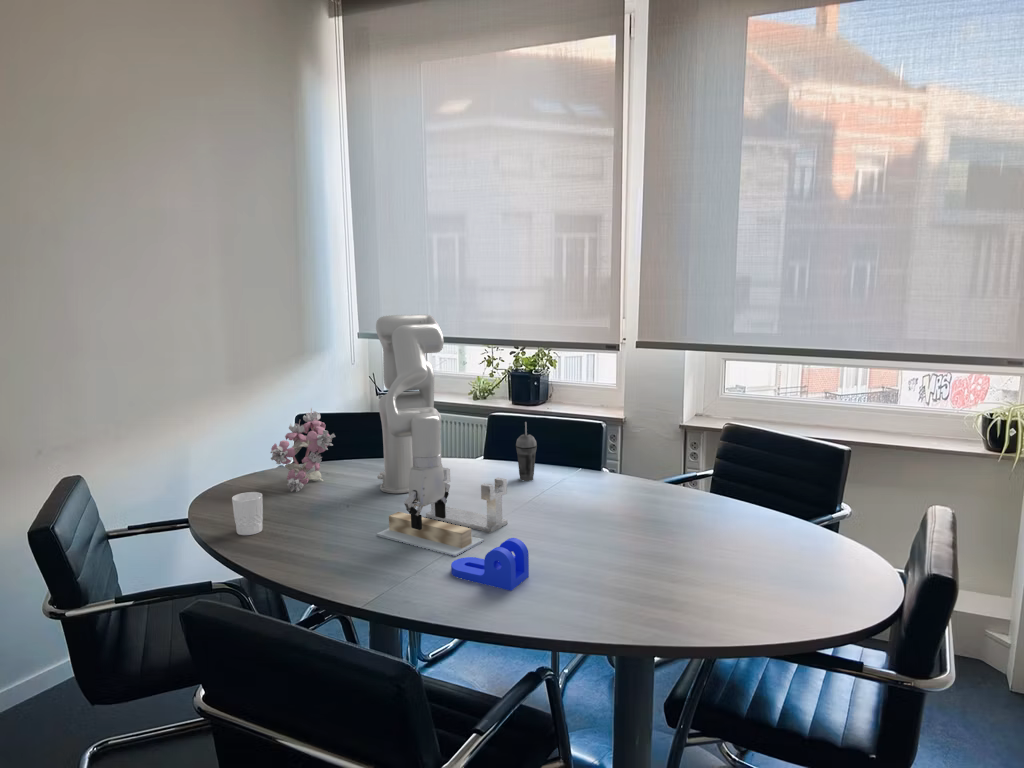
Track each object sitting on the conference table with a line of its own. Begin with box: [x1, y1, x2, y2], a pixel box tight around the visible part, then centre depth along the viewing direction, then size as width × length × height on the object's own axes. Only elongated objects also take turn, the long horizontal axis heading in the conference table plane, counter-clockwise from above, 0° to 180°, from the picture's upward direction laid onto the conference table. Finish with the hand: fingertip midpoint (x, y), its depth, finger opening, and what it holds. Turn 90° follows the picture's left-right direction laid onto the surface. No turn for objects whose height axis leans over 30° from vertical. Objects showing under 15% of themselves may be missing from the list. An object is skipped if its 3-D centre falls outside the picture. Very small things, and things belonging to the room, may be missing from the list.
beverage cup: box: [515, 421, 538, 482], centre depth 244 cm, size 7×7×20 cm
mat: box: [376, 527, 485, 557], centre depth 193 cm, size 27×12×1 cm, turn 56°
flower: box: [270, 407, 336, 493], centre depth 241 cm, size 20×22×25 cm
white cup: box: [231, 491, 264, 536], centre depth 200 cm, size 8×8×10 cm
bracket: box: [450, 537, 530, 592], centre depth 169 cm, size 18×8×9 cm, turn 61°
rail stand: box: [425, 467, 508, 533], centre depth 205 cm, size 23×8×13 cm, turn 56°
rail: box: [388, 511, 472, 548], centre depth 193 cm, size 25×4×4 cm, turn 57°
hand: (428, 522), depth 193 cm, fingers open, 9 cm apart
